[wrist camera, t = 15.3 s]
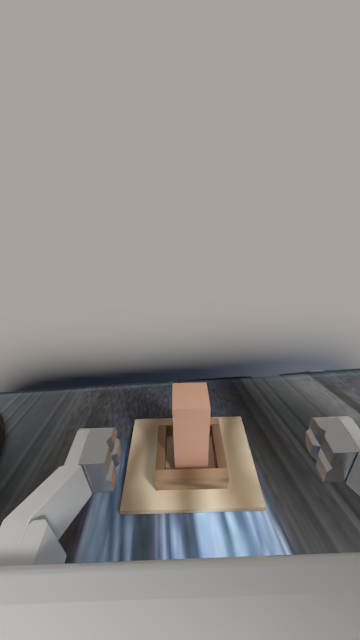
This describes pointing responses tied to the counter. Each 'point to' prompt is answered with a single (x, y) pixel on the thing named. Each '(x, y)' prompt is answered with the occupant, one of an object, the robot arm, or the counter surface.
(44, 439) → the counter surface
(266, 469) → the counter surface
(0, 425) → the glass bottle
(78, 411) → the counter surface
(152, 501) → the housing
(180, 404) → the block
